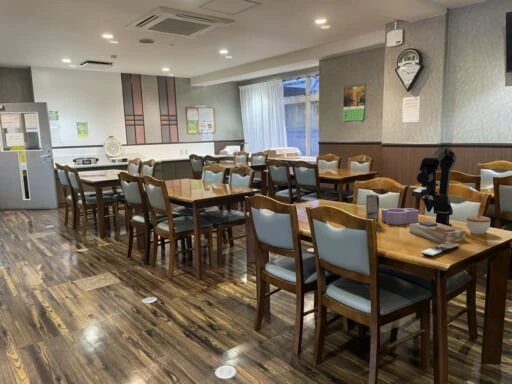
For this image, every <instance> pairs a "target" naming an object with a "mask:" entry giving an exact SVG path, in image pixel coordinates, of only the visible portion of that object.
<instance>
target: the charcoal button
mask: <svg viewBox="0 0 512 384" xmlns="http://www.w3.org/2000/svg"><path fill="white" fill-rule="evenodd" d="M430 221H431V220H427V221H420V222H419V221H418V223H419V225H422V226H426V227H433V226H437V223H434V222H435V221H432V222H430Z"/></svg>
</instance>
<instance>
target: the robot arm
mask: <svg viewBox="0 0 512 384" xmlns="http://www.w3.org/2000/svg"><path fill="white" fill-rule="evenodd" d="M456 162H457V155H456V154H455V152H453V151H452V150H450V148H448V147H439V148H437V150H435V152H434V153H432V154H431V155H426V156H424V157H423V158H422V160H421V163H420V167H419V171H421V172H419V173H418V174H417V175H416V181H417V182H418V183H419V184H421V186H420V187H417V188H416V189H413V191H412V193H411V195H412V197H417V198H419V199H420V200H422V201H423V202H424V206H425V209H426V212H427V213H430V212H431V211H432V209H433V214H436V215H435V222H436V223H439V224H443V225H446V226H452V224H451V223H450V216H453V215H454V210H453V206H452V204H451V199H450V198H449V190H450V179H451V171H452V169H453V168H454V166H455V164H456ZM439 168H440V169H441V170H440V179H439V183H437V175H438V174H437V173H438V171H439ZM438 186H439V190H438V191H437V187H438Z"/></svg>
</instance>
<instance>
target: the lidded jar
mask: <svg viewBox="0 0 512 384" xmlns="http://www.w3.org/2000/svg"><path fill="white" fill-rule="evenodd" d="M465 219H466V227H467V229H468V230H469V231H470V233H471V234H474V235H484V234H485V233H486V232H487V231H488V230H489V228H490V225H491V221H492V220H491V218H490V217H487V216H482V215H481V214H477V215H469V216H466V218H465Z"/></svg>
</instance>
